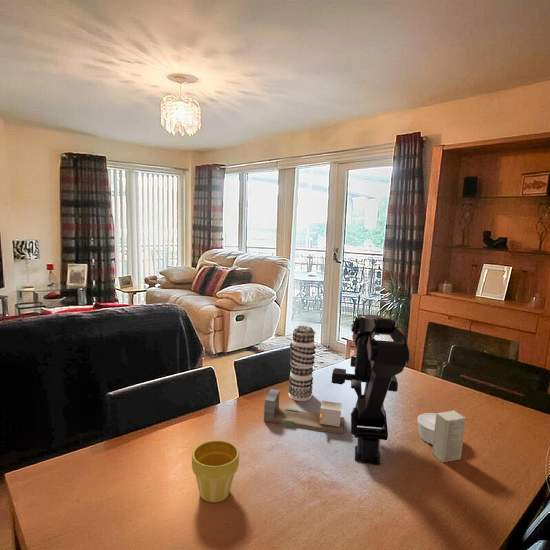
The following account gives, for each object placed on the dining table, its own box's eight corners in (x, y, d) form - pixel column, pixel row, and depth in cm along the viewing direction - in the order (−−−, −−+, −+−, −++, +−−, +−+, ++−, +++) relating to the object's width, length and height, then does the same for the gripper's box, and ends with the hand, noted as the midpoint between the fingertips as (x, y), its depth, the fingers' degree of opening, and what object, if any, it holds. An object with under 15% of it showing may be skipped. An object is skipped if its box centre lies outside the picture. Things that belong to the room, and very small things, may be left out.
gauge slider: (339, 431, 111) (340, 415, 110) (318, 428, 112) (319, 412, 112) (340, 418, 119) (341, 403, 118) (321, 415, 120) (322, 400, 119)
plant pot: (216, 471, 93) (217, 433, 92) (247, 491, 87) (248, 451, 86) (181, 493, 85) (182, 452, 84) (212, 517, 79) (213, 474, 78)
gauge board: (342, 435, 112) (344, 412, 111) (263, 422, 117) (264, 400, 116) (343, 420, 120) (345, 399, 119) (269, 409, 125) (270, 388, 124)
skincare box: (449, 450, 107) (454, 409, 105) (461, 460, 102) (466, 417, 101) (430, 453, 105) (435, 412, 103) (442, 463, 101) (447, 420, 99)
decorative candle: (284, 398, 133) (287, 329, 129) (290, 388, 142) (294, 322, 138) (309, 403, 130) (314, 332, 127) (315, 392, 139) (319, 325, 136)
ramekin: (413, 442, 110) (415, 425, 109) (418, 424, 120) (420, 408, 119) (455, 454, 105) (457, 436, 104) (457, 435, 115) (459, 418, 114)
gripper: (396, 351, 118) (392, 399, 120) (335, 344, 122) (332, 391, 124) (400, 364, 107) (395, 416, 109) (333, 356, 111) (329, 406, 113)
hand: (361, 406), depth 114 cm, fingers closed
